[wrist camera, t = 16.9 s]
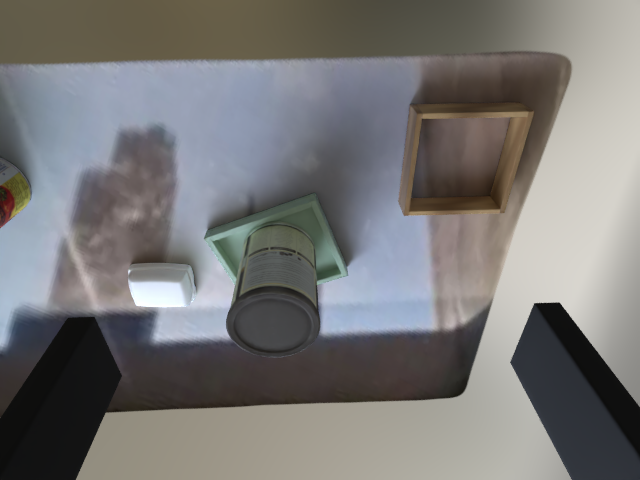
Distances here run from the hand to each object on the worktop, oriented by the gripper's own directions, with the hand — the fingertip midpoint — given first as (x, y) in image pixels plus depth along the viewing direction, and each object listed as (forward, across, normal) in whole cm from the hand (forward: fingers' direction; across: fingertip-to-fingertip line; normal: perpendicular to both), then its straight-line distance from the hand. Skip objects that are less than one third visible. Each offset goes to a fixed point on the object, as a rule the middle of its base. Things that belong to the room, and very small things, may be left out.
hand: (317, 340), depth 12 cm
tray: (+37, -4, -23) cm, 43 cm away
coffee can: (+36, -4, -23) cm, 43 cm away
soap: (+37, -22, -28) cm, 51 cm away
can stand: (+37, +18, -10) cm, 42 cm away
